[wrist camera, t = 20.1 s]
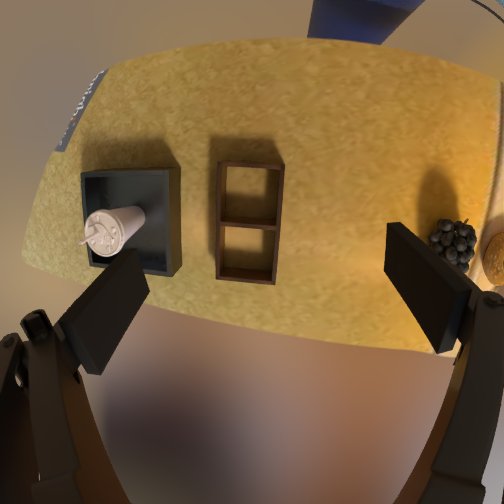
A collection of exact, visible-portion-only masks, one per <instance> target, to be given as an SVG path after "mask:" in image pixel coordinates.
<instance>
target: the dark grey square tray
mask: <svg viewBox="0 0 504 504" xmlns="http://www.w3.org/2000/svg"><path fill="white" fill-rule="evenodd" d="M81 191H82V206H83V217H84V227H85V223H86V220H87V218H88V217H89V216H90V215H91V214H92V213H94V212H96V211H98V210H101V209H105V210H112V209H118V208H123V207H128V206H138V207H140V208H141V209H142V210H143V212H144V214H145V222H144V224H143V225H142V226H141V227H140V228H139V229H138V230H137V231H136V232H135V233H134V234H133V235H132V236H131V237H130V238H129V239H128V240H127V241H126V242H125V243H124V244H123V247H122V248H121V250H120V251H119V252H118V253H116V254H114V255H112V256H109V257H104V256H101V255H98V254H97V253H95V252H94V251H93V250H92V249H91V247H90V246H89V244H88V242H86V243H87V251H88V258H89V264H90V266H93V267H99V268H107V267H108V266H109V265H110V264H111V263H112V262H113V260H114V259H115V258H116V257H117V256H118V255H119V254H120V253H121V252H122V251H123V250H124V249H130V248H137V251H138V255H139V258H140V262H141V265H142V268H143V271H144V274H150V275H158V276H166V277H173V276H174V275H175V273H176V272H177V271H178V270H179V269H180V267H181V266H182V249H181V167H148V168H117V169H98V170H92V171H87V172H82V173H81Z"/></svg>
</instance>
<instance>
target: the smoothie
mask: <svg viewBox="0 0 504 504" xmlns="http://www.w3.org/2000/svg"><path fill="white" fill-rule="evenodd" d="M144 222H145V214H144V212H143V210H142V209H141V208H140V207H138V206H128V207H123V208H118V209H112V210H105V209H101V210H98V211H96V212H94V213H92V214H91V215H90V216H89V217H88V218H87V220H86V223H85V238H84V239H82V240H80V241H78V245H82V244H84V243H85V242H88V244H89V246H90V247H91V249H92V250H93V251H94V252H95V253H97V254H98V255H101V256H104V257H109V256H112V255H114V254H116V253H118V252H119V251H120V250H121V248H122V247H123V244H124V243H125V242H126V241H127V240H128V239H129V238H130V237H131V236H132V235H133V234H134V233H135V232H136V231H137V230H138V229H139V228H140V227H141V226H142V225H143V224H144Z"/></svg>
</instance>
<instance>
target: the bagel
mask: <svg viewBox="0 0 504 504" xmlns="http://www.w3.org/2000/svg"><path fill="white" fill-rule="evenodd" d="M483 269H484V272H485V275H486V277H487V278H488V280H489V281H490V283H491V284H493V285H495V286H502V285H504V232H503V233H500V234H498V235H497V236H495V237H494V238H493V240H492V241H491V242H490V244H489V246H488V249H487V251H486V254H485V257H484V260H483Z"/></svg>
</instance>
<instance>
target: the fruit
mask: <svg viewBox="0 0 504 504" xmlns="http://www.w3.org/2000/svg"><path fill="white" fill-rule="evenodd" d="M468 220H469V219H468V218H467V219H466V220H465V221H464V223H462V222H461V221H458V220H457V221H456V222H455V223H453V221H451V220H448V219H440V220H439V221H438V224H437V225H438V229H439V230H434V231H433V232H432V233H431V235H429V236H428V243H429V244H430V248H431V249H432V250H433V251H434V252H435V253H436V254H437V255H438V256H439V257H440V258H441V259H443V260H444V261H448V262H450V263H452V264H454V265H456V266H457V267H458V268H459V269H460V270H461V271H462V273H467V271H468V270H469V264H468V262H469V261H470V259H471V258H473V257H474V254H475V252H474V250H473V249H474V246H475V244H476V242H477V238H476V235H475V230H474V229H473V227H472V226H471V225H467V224H466V223H467V221H468ZM455 231H456V232H457V233H456V232H455ZM458 235H459V236H458Z"/></svg>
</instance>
